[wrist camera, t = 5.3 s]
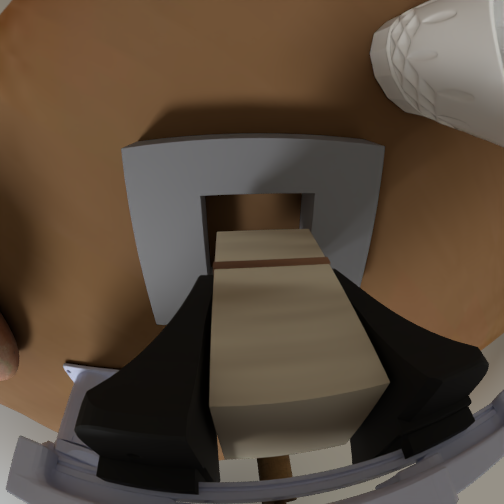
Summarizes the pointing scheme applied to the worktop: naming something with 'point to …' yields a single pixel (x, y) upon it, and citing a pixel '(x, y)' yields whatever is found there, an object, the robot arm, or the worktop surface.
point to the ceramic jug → (7, 351)
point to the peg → (285, 348)
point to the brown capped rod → (275, 472)
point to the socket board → (245, 182)
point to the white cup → (446, 64)
